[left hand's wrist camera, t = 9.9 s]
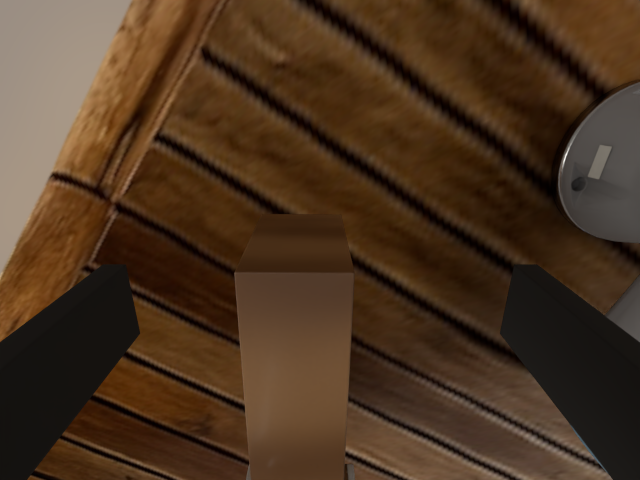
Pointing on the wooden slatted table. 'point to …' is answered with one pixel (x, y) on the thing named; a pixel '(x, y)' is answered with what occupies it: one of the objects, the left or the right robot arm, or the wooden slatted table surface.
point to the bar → (296, 345)
